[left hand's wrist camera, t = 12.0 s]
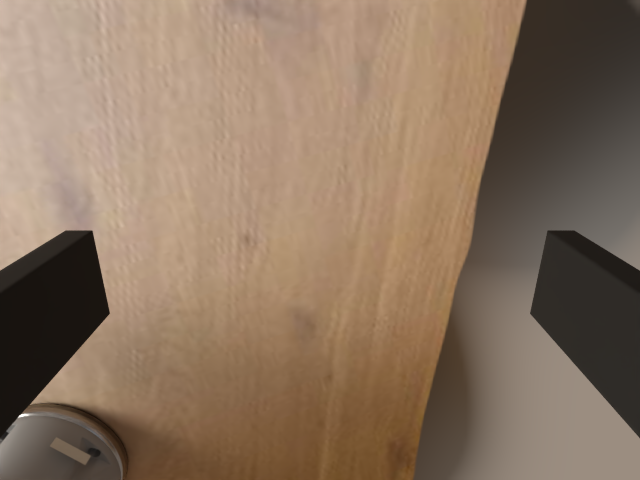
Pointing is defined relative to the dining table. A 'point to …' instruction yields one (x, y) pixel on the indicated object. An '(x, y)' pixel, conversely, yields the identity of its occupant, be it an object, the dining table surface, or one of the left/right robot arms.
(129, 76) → the dining table surface
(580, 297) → the left robot arm
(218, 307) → the dining table surface
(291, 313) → the dining table surface
